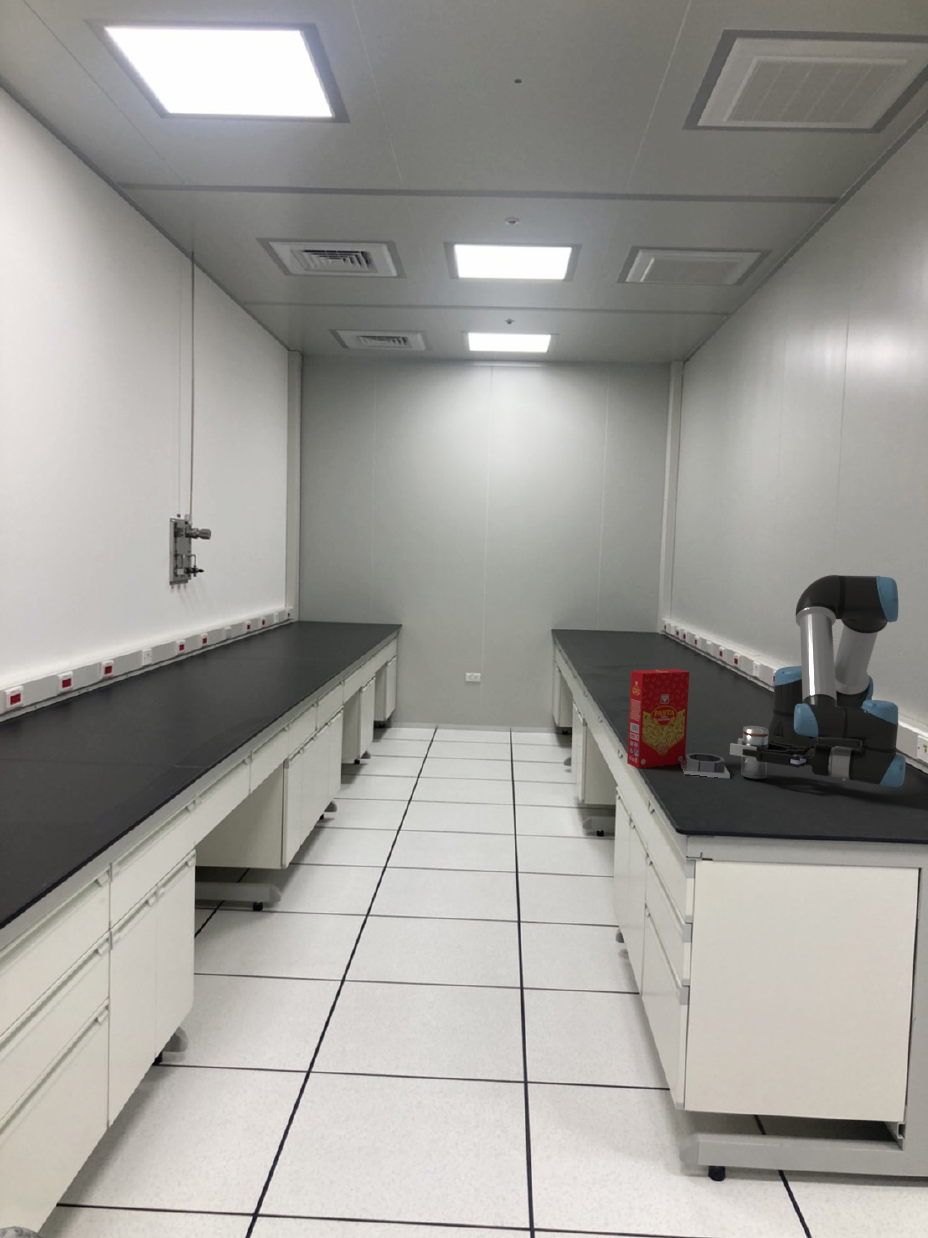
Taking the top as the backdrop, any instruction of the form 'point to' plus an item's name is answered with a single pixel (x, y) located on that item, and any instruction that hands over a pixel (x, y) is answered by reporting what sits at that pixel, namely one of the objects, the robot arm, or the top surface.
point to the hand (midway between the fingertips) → (734, 746)
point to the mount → (704, 765)
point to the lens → (754, 738)
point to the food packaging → (657, 717)
